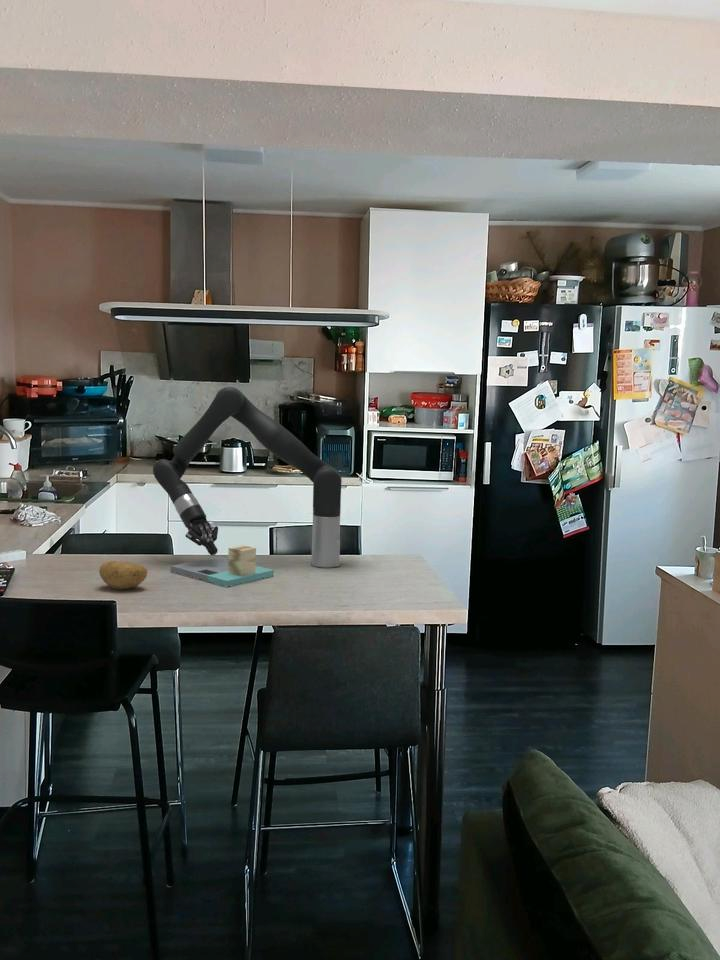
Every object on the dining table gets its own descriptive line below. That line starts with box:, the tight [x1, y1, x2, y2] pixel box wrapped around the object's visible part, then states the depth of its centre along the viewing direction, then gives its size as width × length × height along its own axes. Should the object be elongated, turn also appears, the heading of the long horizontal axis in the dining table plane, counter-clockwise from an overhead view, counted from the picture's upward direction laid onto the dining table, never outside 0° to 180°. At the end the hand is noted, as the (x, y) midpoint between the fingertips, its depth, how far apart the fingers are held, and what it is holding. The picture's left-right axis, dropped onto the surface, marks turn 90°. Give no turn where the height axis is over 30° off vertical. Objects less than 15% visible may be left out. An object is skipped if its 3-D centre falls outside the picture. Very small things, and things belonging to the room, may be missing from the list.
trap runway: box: [170, 556, 275, 588], centre depth 277 cm, size 26×20×2 cm
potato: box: [98, 560, 148, 590], centre depth 256 cm, size 10×14×8 cm
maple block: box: [227, 544, 257, 576], centre depth 271 cm, size 6×6×8 cm
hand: (214, 553), depth 278 cm, fingers closed
